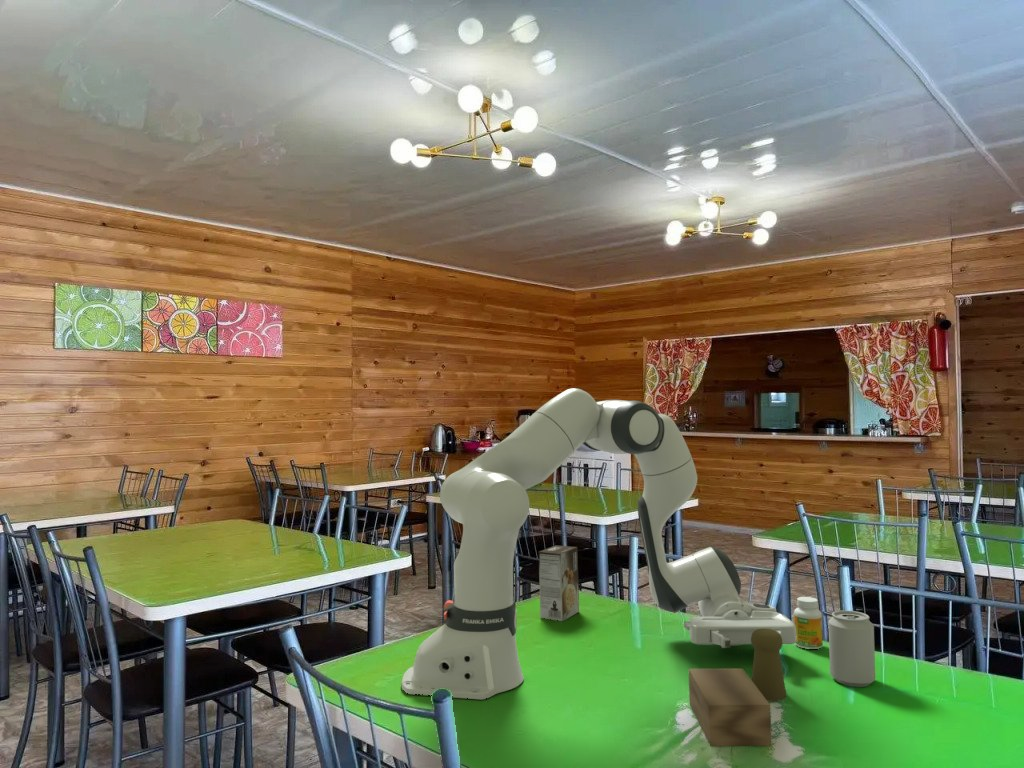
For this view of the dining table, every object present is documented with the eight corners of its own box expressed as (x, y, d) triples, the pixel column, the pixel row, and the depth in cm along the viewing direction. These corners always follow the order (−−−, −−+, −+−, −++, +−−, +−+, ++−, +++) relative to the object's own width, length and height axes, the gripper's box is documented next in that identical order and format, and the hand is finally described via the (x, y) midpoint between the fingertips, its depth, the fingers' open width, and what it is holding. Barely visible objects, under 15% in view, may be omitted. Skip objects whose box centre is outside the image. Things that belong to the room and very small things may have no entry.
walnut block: (710, 745, 109) (709, 704, 109) (689, 704, 124) (688, 668, 124) (771, 745, 108) (770, 704, 109) (743, 704, 123) (742, 668, 123)
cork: (789, 701, 124) (787, 636, 124) (752, 699, 125) (750, 634, 126) (783, 688, 130) (781, 625, 130) (748, 686, 131) (746, 624, 131)
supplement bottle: (794, 649, 150) (793, 601, 151) (795, 641, 155) (793, 594, 156) (823, 651, 148) (821, 603, 149) (822, 643, 153) (821, 596, 154)
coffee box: (556, 608, 183) (555, 544, 184) (579, 612, 180) (578, 546, 181) (539, 618, 176) (538, 551, 176) (563, 622, 172) (561, 553, 173)
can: (875, 676, 135) (872, 610, 135) (876, 691, 128) (873, 621, 128) (830, 670, 138) (828, 606, 138) (829, 685, 131) (827, 617, 131)
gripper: (681, 606, 151) (695, 626, 137) (781, 605, 150) (806, 626, 136) (681, 637, 151) (696, 660, 137) (782, 636, 150) (807, 660, 136)
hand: (752, 643), depth 137 cm, fingers open, 8 cm apart
